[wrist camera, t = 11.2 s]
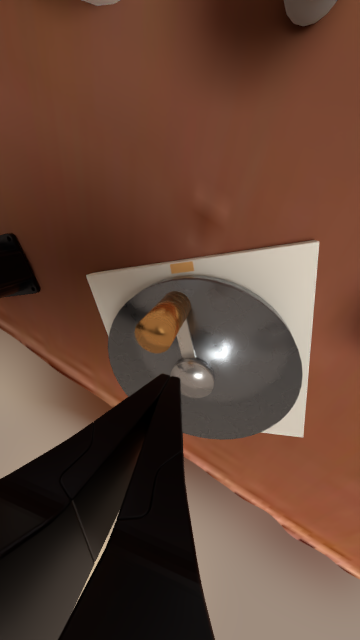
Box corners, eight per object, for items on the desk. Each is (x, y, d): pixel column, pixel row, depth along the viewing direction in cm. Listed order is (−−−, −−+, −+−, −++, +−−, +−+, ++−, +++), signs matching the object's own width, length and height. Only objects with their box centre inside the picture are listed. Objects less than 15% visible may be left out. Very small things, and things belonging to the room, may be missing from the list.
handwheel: (298, 434, 21) (317, 512, 16) (144, 420, 27) (118, 473, 22) (298, 255, 14) (331, 283, 9) (90, 290, 20) (32, 320, 15)
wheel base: (141, 411, 30) (136, 420, 28) (92, 272, 22) (82, 276, 20) (300, 429, 23) (304, 441, 22) (315, 239, 15) (321, 242, 14)
